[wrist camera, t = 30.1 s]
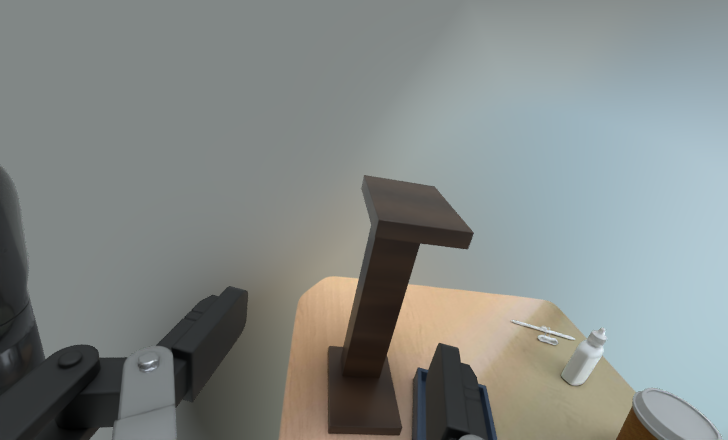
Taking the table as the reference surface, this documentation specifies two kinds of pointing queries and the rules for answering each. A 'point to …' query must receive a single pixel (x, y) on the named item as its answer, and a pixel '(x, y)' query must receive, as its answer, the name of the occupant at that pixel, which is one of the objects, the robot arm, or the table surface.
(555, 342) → the picture light
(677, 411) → the disposable coffee cup
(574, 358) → the eye dropper bottle
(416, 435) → the tray
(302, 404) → the table surface
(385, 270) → the shelf stand
